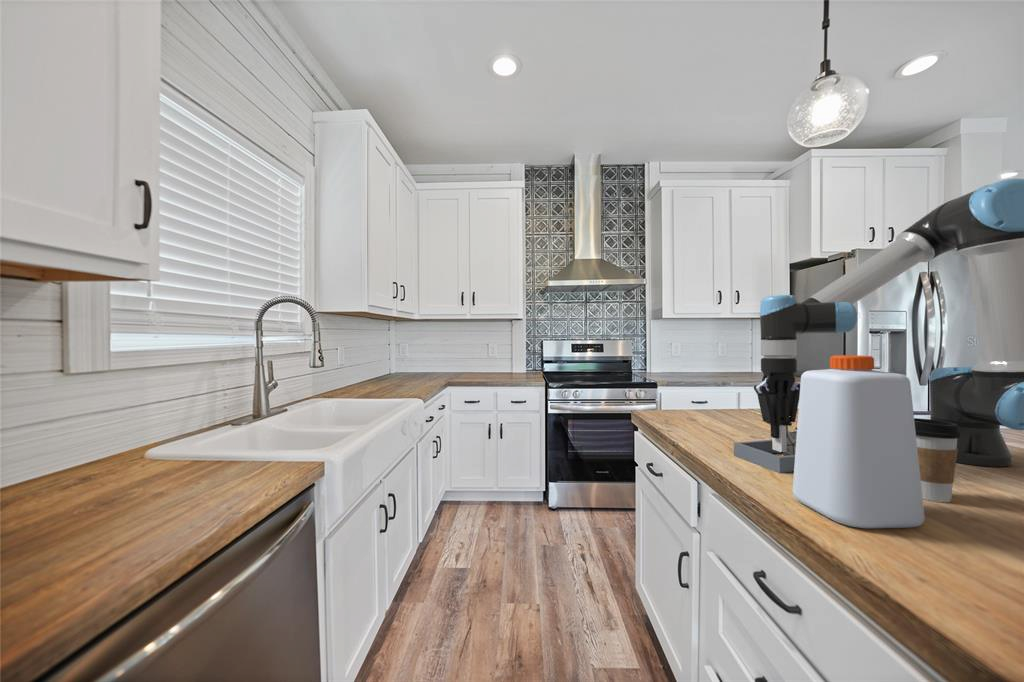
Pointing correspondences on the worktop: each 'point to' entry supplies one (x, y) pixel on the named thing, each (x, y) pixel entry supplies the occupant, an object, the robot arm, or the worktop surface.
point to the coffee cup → (936, 457)
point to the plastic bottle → (858, 446)
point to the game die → (791, 442)
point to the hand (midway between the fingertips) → (779, 450)
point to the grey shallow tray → (764, 455)
